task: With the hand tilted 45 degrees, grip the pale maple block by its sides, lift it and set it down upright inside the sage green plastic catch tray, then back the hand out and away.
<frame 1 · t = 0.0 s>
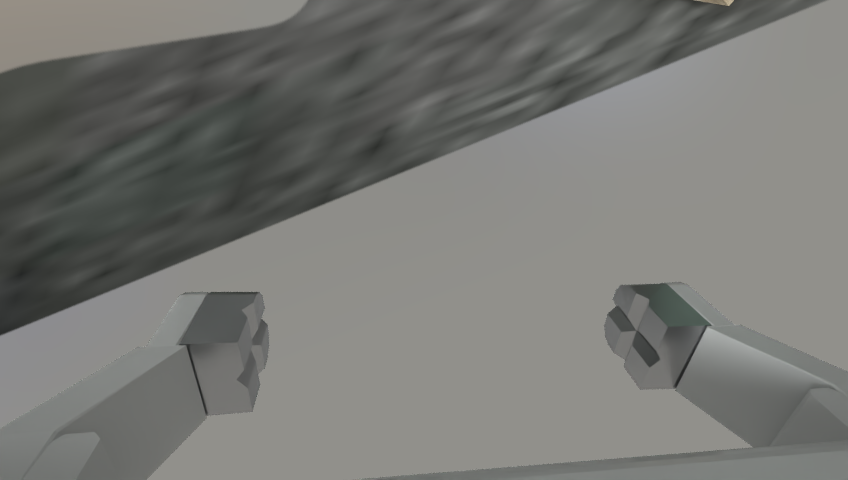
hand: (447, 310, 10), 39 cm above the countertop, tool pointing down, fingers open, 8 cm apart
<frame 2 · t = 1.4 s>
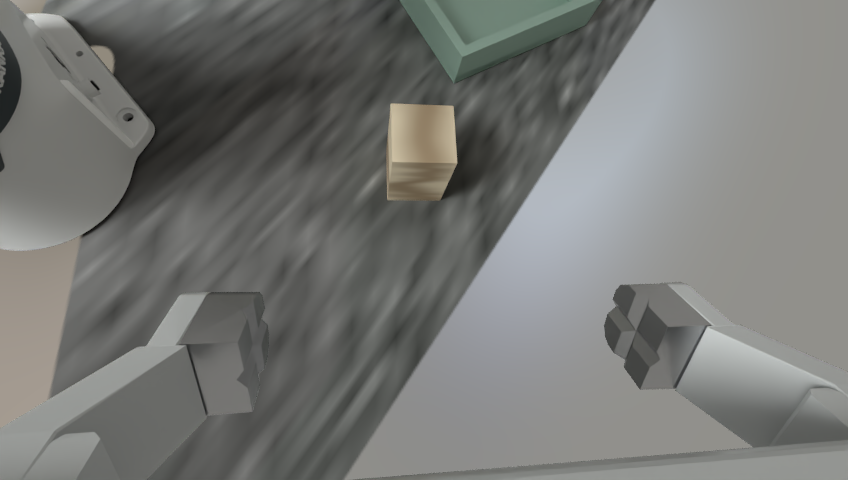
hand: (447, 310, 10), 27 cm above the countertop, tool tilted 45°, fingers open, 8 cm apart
maple block: (413, 175, 40), on the countertop
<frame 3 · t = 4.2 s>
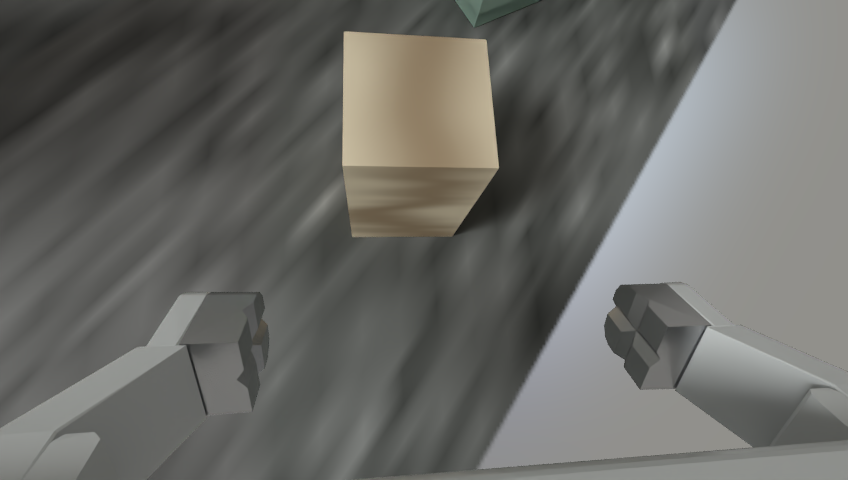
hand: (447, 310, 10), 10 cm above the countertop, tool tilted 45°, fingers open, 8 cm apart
maple block: (401, 190, 22), on the countertop
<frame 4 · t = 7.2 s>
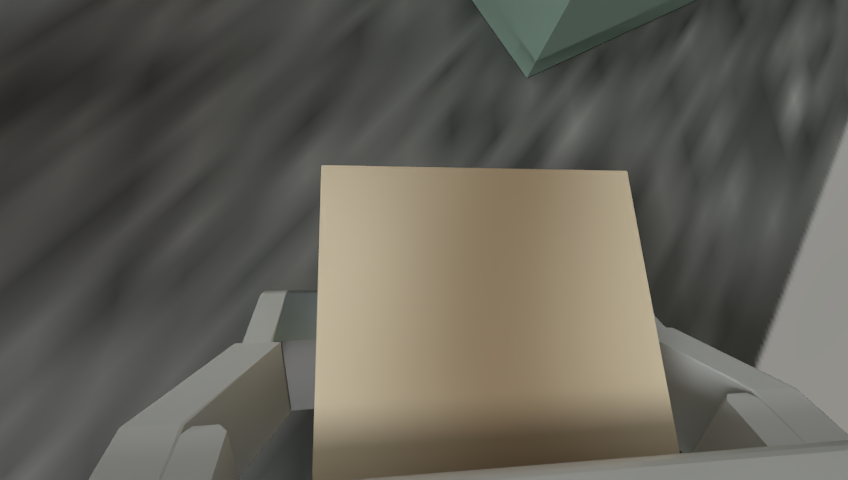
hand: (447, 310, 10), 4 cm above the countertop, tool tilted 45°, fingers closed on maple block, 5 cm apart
maple block: (424, 345, 14), on the countertop, touching gripper
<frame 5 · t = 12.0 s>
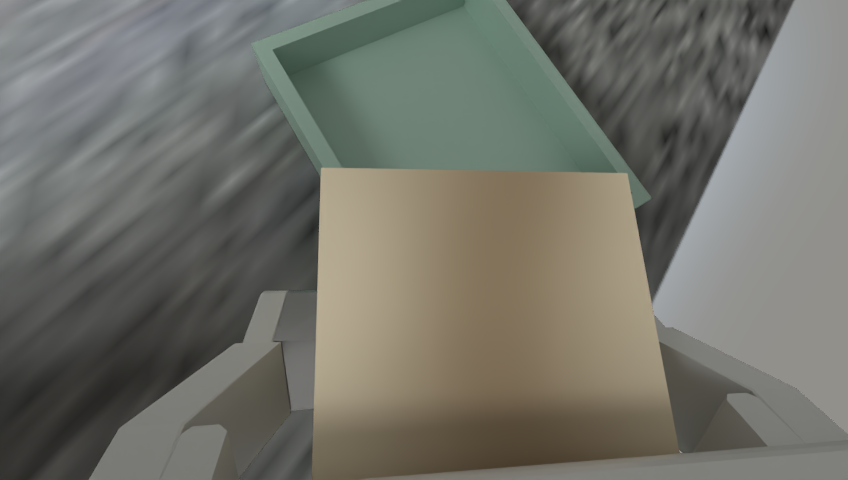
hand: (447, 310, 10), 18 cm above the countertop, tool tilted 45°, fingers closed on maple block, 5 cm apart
catch tray: (443, 150, 31), on the countertop
maple block: (424, 346, 14), point 14 cm above the countertop, touching gripper
when the fingers open (7 cm above the countertop, at t = 17.0 s): maple block drops 1 cm, resting on catch tray.
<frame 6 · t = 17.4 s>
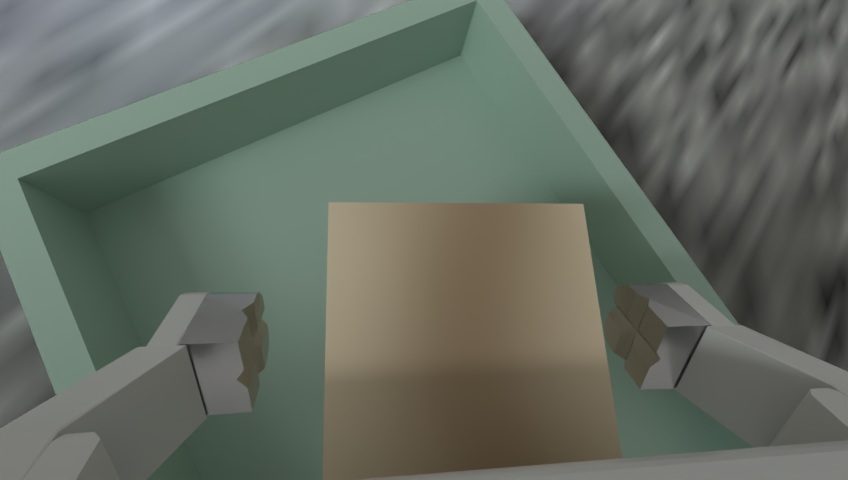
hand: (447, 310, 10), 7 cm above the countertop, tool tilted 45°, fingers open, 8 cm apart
catch tray: (416, 347, 16), on the countertop
maple block: (419, 347, 15), point 1 cm above the countertop, touching catch tray
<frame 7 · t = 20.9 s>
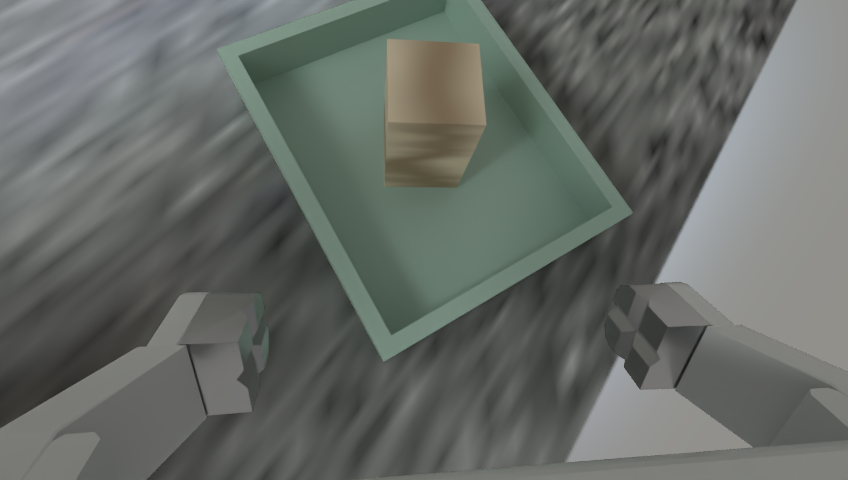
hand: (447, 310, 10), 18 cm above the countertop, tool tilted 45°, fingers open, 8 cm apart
catch tray: (418, 160, 30), on the countertop
maple block: (419, 154, 29), point 1 cm above the countertop, touching catch tray
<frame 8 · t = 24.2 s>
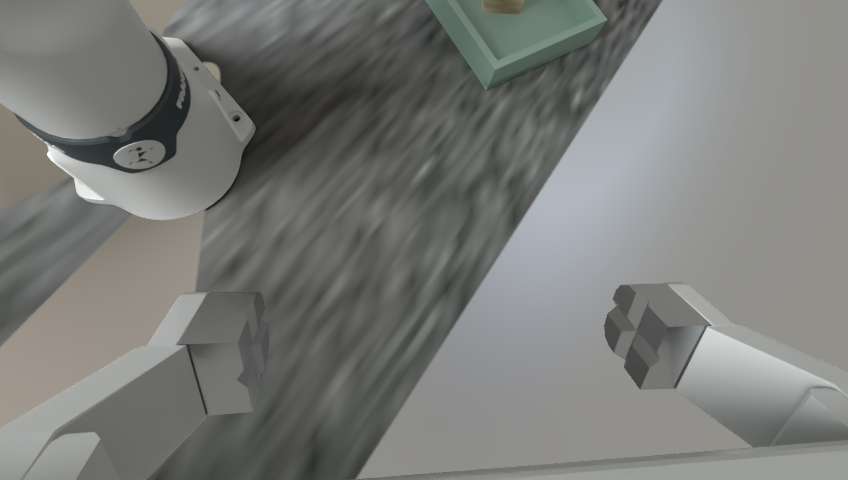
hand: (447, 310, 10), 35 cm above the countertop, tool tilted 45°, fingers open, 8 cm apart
catch tray: (497, 4, 58), on the countertop
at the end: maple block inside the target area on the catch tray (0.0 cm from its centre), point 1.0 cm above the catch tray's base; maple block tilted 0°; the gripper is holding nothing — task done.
